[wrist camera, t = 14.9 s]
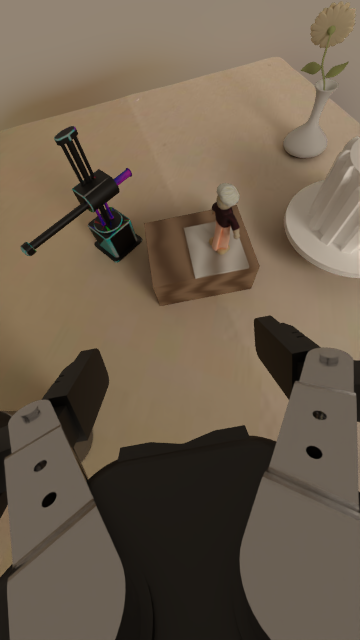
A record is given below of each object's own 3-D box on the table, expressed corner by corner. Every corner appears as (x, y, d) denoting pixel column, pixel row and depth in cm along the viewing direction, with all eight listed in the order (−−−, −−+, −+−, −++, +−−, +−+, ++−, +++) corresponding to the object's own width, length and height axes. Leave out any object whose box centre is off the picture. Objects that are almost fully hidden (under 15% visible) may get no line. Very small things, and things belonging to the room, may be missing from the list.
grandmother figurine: (199, 241, 44) (198, 180, 33) (213, 230, 45) (217, 166, 33) (228, 265, 42) (238, 207, 30) (242, 252, 42) (258, 191, 31)
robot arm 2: (128, 216, 61) (84, 100, 38) (152, 232, 58) (119, 116, 35) (53, 278, 55) (-50, 184, 33) (75, 299, 52) (-21, 212, 30)
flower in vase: (331, 144, 64) (402, -7, 41) (312, 168, 61) (378, 20, 38) (287, 131, 68) (331, -13, 45) (268, 153, 65) (304, 10, 42)
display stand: (160, 305, 49) (152, 285, 41) (151, 248, 56) (143, 221, 48) (250, 288, 49) (260, 264, 41) (232, 232, 55) (237, 202, 47)
